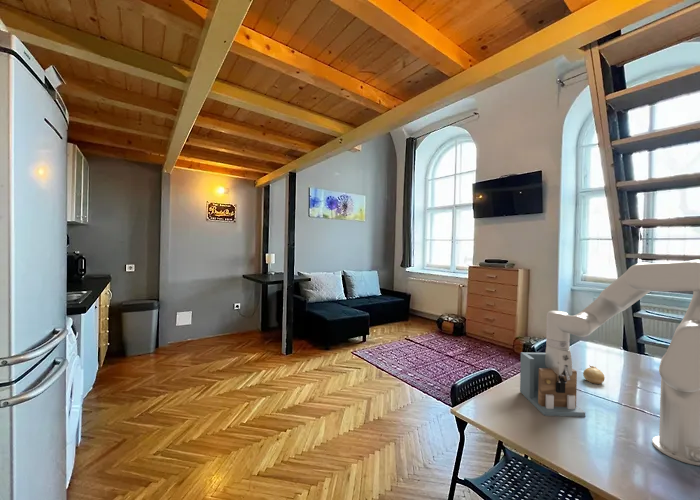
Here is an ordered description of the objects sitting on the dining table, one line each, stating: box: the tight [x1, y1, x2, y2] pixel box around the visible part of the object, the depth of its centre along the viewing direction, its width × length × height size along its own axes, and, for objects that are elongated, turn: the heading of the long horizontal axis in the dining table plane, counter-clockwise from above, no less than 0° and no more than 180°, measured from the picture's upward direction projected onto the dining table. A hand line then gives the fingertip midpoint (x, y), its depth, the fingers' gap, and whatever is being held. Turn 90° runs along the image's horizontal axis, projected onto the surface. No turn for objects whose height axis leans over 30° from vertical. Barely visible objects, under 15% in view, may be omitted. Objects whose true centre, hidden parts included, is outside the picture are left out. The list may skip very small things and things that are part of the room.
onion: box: [582, 364, 606, 385], centre depth 145 cm, size 8×8×7 cm
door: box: [538, 368, 578, 407], centre depth 120 cm, size 3×13×14 cm, turn 87°
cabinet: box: [519, 351, 586, 417], centre depth 125 cm, size 18×15×18 cm
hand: (556, 389), depth 121 cm, fingers open, 3 cm apart
